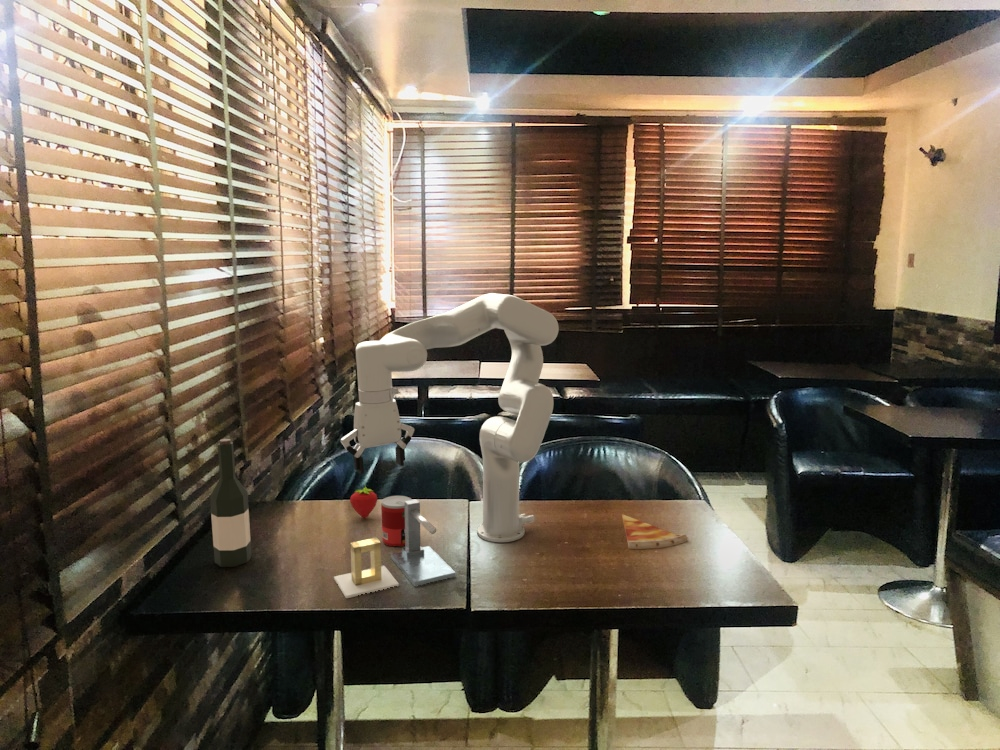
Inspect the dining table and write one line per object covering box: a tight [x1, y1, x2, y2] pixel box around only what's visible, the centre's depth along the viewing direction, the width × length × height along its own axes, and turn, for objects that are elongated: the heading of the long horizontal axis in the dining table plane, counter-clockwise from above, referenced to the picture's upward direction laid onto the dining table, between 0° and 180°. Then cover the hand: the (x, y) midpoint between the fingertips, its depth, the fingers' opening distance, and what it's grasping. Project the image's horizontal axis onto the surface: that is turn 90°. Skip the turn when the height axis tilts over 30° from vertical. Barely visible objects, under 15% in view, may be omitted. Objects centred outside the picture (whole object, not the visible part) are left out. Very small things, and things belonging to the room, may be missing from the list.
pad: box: [333, 565, 400, 599], centre depth 154 cm, size 12×10×1 cm
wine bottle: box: [209, 438, 252, 568], centre depth 162 cm, size 8×8×30 cm
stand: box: [390, 499, 456, 587], centre depth 160 cm, size 10×16×14 cm, turn 28°
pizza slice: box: [621, 513, 689, 550], centre depth 183 cm, size 16×22×2 cm
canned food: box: [380, 495, 413, 547], centre depth 175 cm, size 8×8×11 cm
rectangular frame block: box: [349, 537, 382, 586], centre depth 153 cm, size 6×3×9 cm, turn 118°
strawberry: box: [349, 482, 378, 519], centre depth 191 cm, size 6×8×10 cm
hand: (380, 468), depth 157 cm, fingers open, 9 cm apart
